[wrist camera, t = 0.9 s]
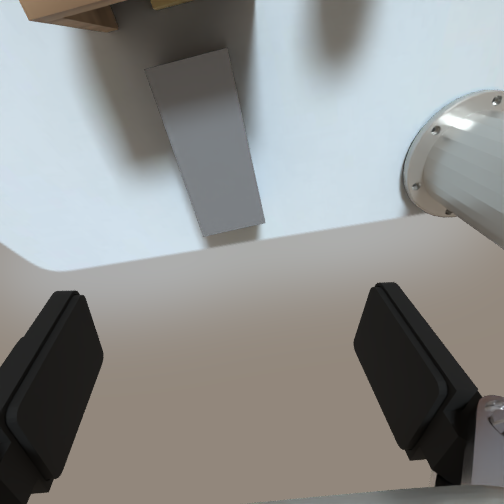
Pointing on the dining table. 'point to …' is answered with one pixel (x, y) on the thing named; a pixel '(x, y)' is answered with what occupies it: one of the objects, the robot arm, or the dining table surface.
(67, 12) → the shelf
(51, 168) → the dining table surface
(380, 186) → the dining table surface
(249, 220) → the grey u-shaped piece
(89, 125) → the dining table surface
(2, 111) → the dining table surface
